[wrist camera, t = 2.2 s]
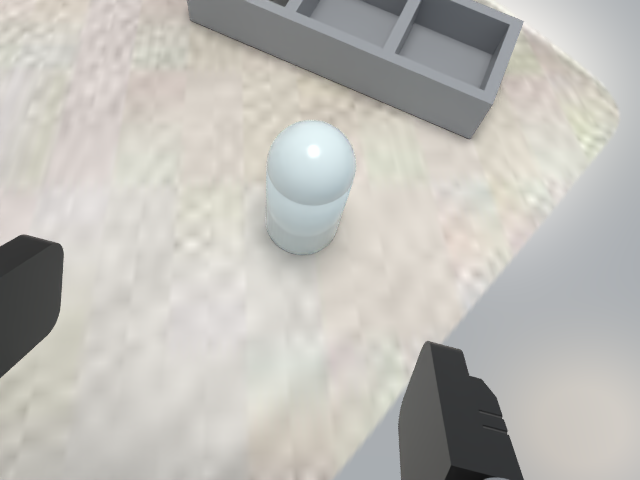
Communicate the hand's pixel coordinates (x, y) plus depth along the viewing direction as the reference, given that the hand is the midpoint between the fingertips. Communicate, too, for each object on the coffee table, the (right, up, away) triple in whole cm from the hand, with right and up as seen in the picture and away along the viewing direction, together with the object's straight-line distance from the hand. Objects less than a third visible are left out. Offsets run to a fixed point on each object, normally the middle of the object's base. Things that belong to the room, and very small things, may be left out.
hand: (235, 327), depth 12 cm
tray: (+4, +17, +28) cm, 33 cm away
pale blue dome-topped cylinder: (+1, +3, +22) cm, 23 cm away
